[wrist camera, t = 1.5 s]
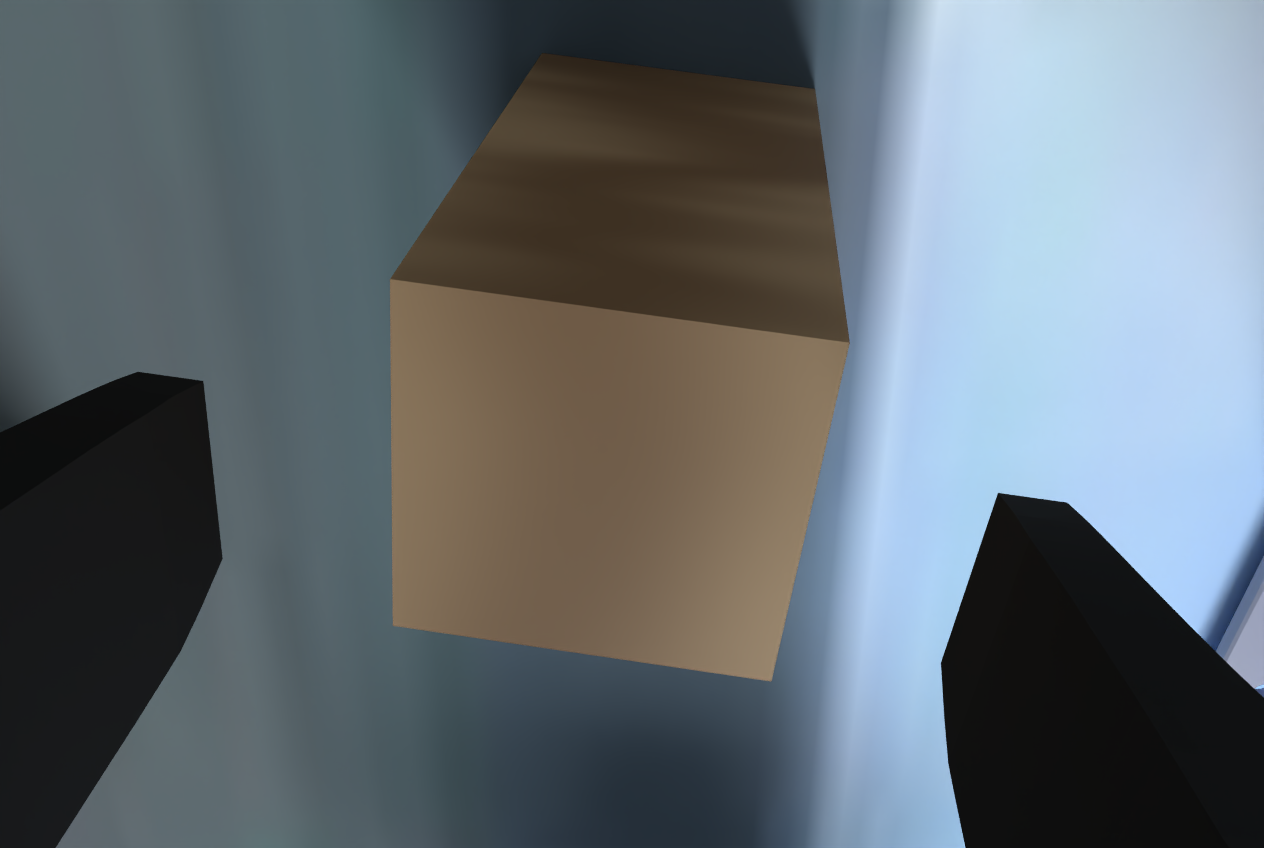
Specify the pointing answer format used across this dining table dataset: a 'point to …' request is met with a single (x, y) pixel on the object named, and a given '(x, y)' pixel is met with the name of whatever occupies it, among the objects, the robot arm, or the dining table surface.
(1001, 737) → the robot arm
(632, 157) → the brown wooden block
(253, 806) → the dining table surface
